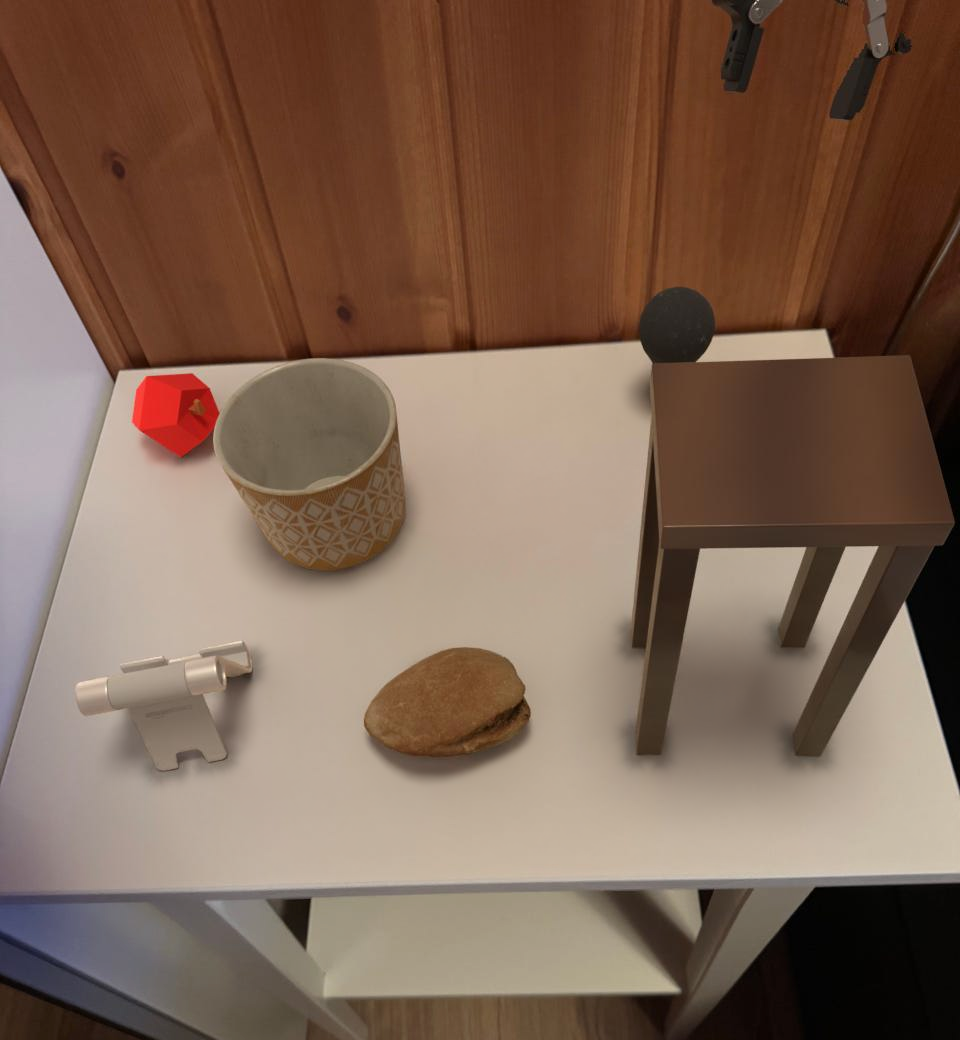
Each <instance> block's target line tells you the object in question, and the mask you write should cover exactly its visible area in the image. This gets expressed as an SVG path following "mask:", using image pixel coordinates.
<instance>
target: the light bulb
mask: <svg viewBox="0 0 960 1040" xmlns="http://www.w3.org/2000/svg"><path fill="white" fill-rule="evenodd" d="M715 332H716V317H715V313H714V310H713V308H712V305H711V304H710V302H709V301H708V300H707V298H706V297H705V296H704V295H702V294H701V293H700V292H699V291H697V290H695V289H693V288H690V287H687V286H686V287H685V286H673V287H668V288H666V289H664V290H661V291H659V292H658V293H657V294H655V295H654V296H652V297H651V298H650V300H649V301H648V302H647V304H646V305H645V306H644V308H643V311H642V312H641V314H640V317H639V323H638V337H639V341H640V343H641V346H642V349H643V351H644V354H646V356H647V357H648V358H649V360H650V361H651V365H652V364H654V363H685V362H698V360H700V359H701V358H702V357H703V355H704V354H705V353H706V352H707V350H708V348H709V347H710V346H711V343H712V341H713V338H714V334H715Z"/></svg>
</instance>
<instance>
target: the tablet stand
mask: <svg viewBox="0 0 960 1040" xmlns="http://www.w3.org/2000/svg"><path fill="white" fill-rule="evenodd" d="M119 666H120V670H121V672H122V673H120V674H115V675H105V676H100V677H96V678H91V679H87V680H84V681H79V682H78V683H77V684H76V686H75V701H76V706H77V708H78V710H79V712H80V714H81V715H83V716H84V717H90V716H95V715H100V714H106V713H110V712H116V711H122V710H126V709H128V711H129V713H130V716H131V717H132V719H133V721H134V723H135V726H136V728H137V730H138V732H139V734H140V737H141V739H142V740H143V743H144V744H145V747H146V749H147V751H148V753H149V755H150V757H151V759H152V761H153V764H154V766H155V768H156V769H157V770H159V771H164V772H165V771H169V770H175V769H178V768H179V762H178V758H177V754H179V753H184V752H188V751H193V750H199V752H200V753H201V754H202V755H203V756H204V758H205V759H206V761H207V763H211V762H216V761H217V762H218V761H222V760H225V759H226V757H227V755H228V752H227V750H226V747H225V745H224V743H223V740H222V738H221V735H220V733H219V730H218V728H217V726H216V722H215V721H214V718H213V716H212V713H211V711H210V708H209V706H208V703H207V701H206V699H205V696H204V694H205V695H206V694H209V693H214V692H221V691H225V690H226V689H227V686H228V685H227V684H228V683H227V681H228V680H227V678H228V677H230V678H233V677H238V676H239V677H240V676H242V675H243V674H249V673H252V671H253V660H252V655H251V651H250V649H249V647H248V646H247V644H246V643H245V642H244V641H243V640H240V641H233V642H229V643H224V644H219V645H212V646H208V647H203V648H202V647H201V648H199V652H198V653H197V654H192V655H187V656H183V657H182V656H181V657H177V658H172V659H168V658H166V656H164V655H161V656H155V657H150V658H144V659H140V660H139V659H138V660H134V661H129V662H124V663H120V665H119Z"/></svg>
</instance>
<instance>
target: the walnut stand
mask: <svg viewBox="0 0 960 1040" xmlns="http://www.w3.org/2000/svg"><path fill="white" fill-rule="evenodd" d="M649 397H650V412H651V417H650V427H649V438H648V448H647V459H646V460H647V461H646V468H645V469H646V470H645V477H644V478H645V480H644V481H645V482H644V489H643V498H642V500H643V501H642V510H641V519H640V530H639V531H640V532H639V540H638V541H639V542H638V550H637V551H638V552H637V560H636V561H637V563H636V572H635V583H634V584H635V585H634V594H633V601H632V602H633V604H632V614H631V625H630V642H631V649H645V653H644V662H643V667H642V677H641V683H640V684H641V686H640V691H639V699H638V709H637V715H636V722H635V723H636V724H635V732H634V736H635V755H636V756H661V755H662V753H663V746H664V742H665V737H666V731H667V727H668V720H669V716H670V711H671V706H672V705H671V704H672V700H673V694H674V690H675V683H676V678H677V673H678V669H679V662H680V658H681V652H682V647H683V643H684V636H685V630H686V626H687V620H688V616H689V610H690V604H691V599H692V594H693V590H694V588H693V587H694V584H695V578H696V572H697V568H698V562H699V558H700V553H701V549H702V550H703V549H770V548H771V549H774V548H775V549H776V548H782V549H783V548H805V550H804V553H803V556H802V559H801V562H800V564H799V567H798V570H797V573H796V576H795V579H794V582H793V585H792V587H791V591H790V593H789V596H788V599H787V602H786V605H785V607H784V610H783V612H782V613H783V614H782V616H781V619H780V621H779V624H778V627H777V628H778V629H777V630H778V637H779V644H780V648H783V649H784V648H785V649H787V648H788V649H790V648H791V649H792V648H794V649H798V648H806V645H807V643H808V641H809V638H810V636H811V633H812V630H813V628H814V626H815V623H816V621H817V619H818V616H819V614H820V611H821V609H822V606H823V604H824V601H825V600H826V596H827V594H828V592H829V589H830V587H831V583H832V582H833V579H834V576H835V574H836V572H837V569H838V567H839V564H840V563H841V560H842V557H843V555H844V553H845V550H846V548H847V547H849V548H850V547H852V548H855V547H857V548H858V547H877V549H876V551H875V553H874V554H873V557H872V560H871V562H870V564H869V566H868V568H867V571H866V573H865V575H864V577H863V580H862V581H861V583H860V585H859V588H858V590H857V592H856V594H855V597H854V599H853V601H852V604H851V605H850V607H849V610H848V612H847V614H846V617H845V618H844V621H843V623H842V625H841V628H840V630H839V632H838V634H837V636H836V637H835V638H836V639H835V641H834V642H833V645H832V647H831V649H830V651H829V654H828V655H827V658H826V660H825V662H824V665H823V666H822V669H821V672H820V674H819V676H818V678H817V680H816V682H815V684H814V687H813V688H812V690H811V693H810V696H809V698H808V699H807V702H806V704H805V706H804V708H803V711H802V713H801V715H800V717H799V719H798V722H797V724H796V726H795V728H794V731H793V732H792V738H793V747H794V753H795V756H796V757H822V755H823V754H824V752H825V750H826V748H827V746H828V744H829V742H830V740H831V738H832V737H833V735H834V733H835V731H836V729H837V727H838V725H839V723H840V722H841V720H842V718H843V716H844V714H845V712H846V710H847V709H848V707H849V705H850V703H851V702H852V700H853V698H854V696H855V694H856V693H857V690H858V689H859V686H860V685H861V683H862V682H863V679H864V678H865V676H866V674H867V672H868V670H869V668H870V666H871V664H872V662H873V661H874V659H875V657H876V655H877V653H878V652H879V650H880V648H881V646H882V644H883V642H884V640H885V639H886V637H887V635H888V633H889V631H890V629H891V628H892V625H893V624H894V622H895V620H896V618H897V616H898V614H899V613H900V611H901V609H902V607H903V605H904V603H905V602H906V601H907V599H908V596H909V594H910V593H911V591H912V589H913V587H914V585H915V583H916V581H917V579H918V578H919V576H920V574H921V572H922V570H923V568H924V566H925V565H926V563H927V561H928V560H929V557H930V555H931V553H932V552H933V550H934V549H935V546H937V547H938V546H943V545H944V544H945V542H946V541H947V538H948V537H949V535H950V533H951V532H952V529H953V528H954V526H955V524H956V522H955V517H954V515H953V510H952V507H951V503H950V499H949V496H948V491H947V488H946V484H945V480H944V477H943V473H942V470H941V469H942V468H941V466H940V462H939V459H938V454H937V451H936V447H935V443H934V439H933V435H932V432H931V428H930V425H929V421H928V417H927V413H926V410H925V406H924V405H925V404H924V402H923V398H922V395H921V391H920V387H919V384H918V379H917V376H916V372H915V368H914V365H913V361H912V357H911V355H909V354H908V355H904V354H903V355H877V356H876V355H875V356H873V355H872V356H848V357H847V356H846V357H845V356H844V357H841V356H840V357H816V358H815V357H814V358H785V359H784V358H783V359H781V358H779V359H751V360H747V359H746V360H719V361H696V362H685V363H654V364H652V363H651V370H650V382H649Z"/></svg>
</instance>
